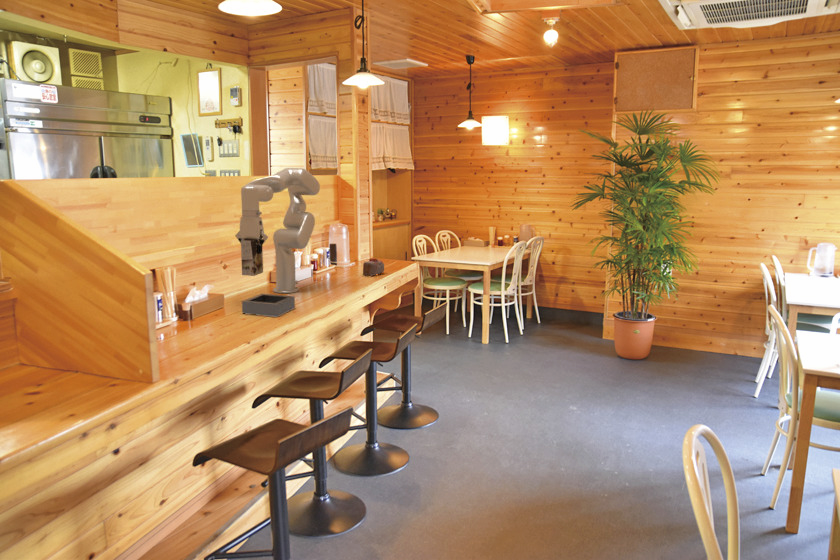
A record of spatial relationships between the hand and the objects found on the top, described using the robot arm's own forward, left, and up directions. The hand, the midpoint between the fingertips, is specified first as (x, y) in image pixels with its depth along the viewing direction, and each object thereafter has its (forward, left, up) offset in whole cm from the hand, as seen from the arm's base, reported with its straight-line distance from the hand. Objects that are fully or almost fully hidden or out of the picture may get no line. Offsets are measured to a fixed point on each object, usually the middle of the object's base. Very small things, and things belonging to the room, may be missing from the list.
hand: (252, 252), depth 267 cm
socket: (+11, +14, -23) cm, 29 cm away
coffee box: (0, 0, -10) cm, 10 cm away
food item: (-86, +28, -24) cm, 94 cm away
